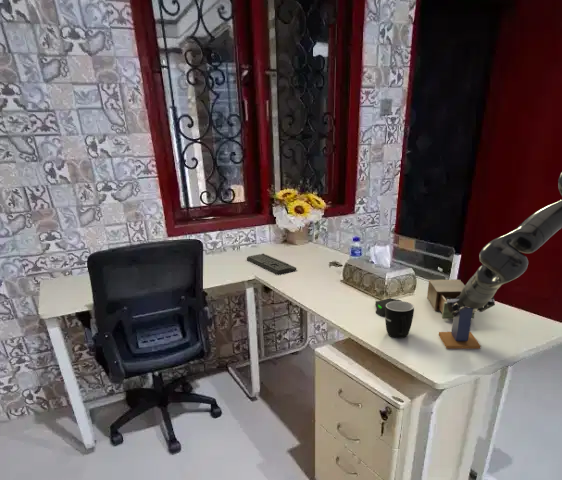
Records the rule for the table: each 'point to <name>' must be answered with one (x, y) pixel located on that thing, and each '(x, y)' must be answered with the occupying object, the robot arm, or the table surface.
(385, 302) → the black electronic device
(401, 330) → the mug
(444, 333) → the cork pad
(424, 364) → the table surface
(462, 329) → the card box
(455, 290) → the cabinet
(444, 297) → the drawer
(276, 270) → the keyboard
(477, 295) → the robot arm
